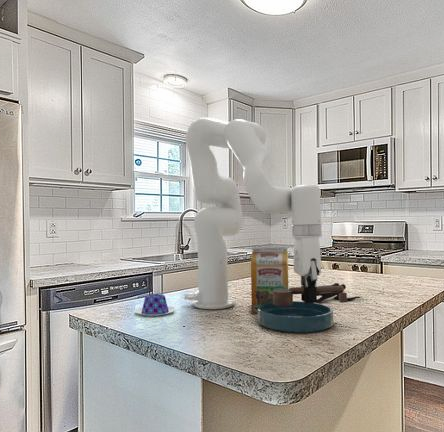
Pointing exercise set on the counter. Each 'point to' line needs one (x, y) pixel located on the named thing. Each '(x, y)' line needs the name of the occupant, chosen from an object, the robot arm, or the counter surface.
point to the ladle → (286, 295)
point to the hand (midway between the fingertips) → (309, 301)
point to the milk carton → (267, 274)
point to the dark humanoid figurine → (332, 294)
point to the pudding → (155, 306)
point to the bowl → (296, 317)
